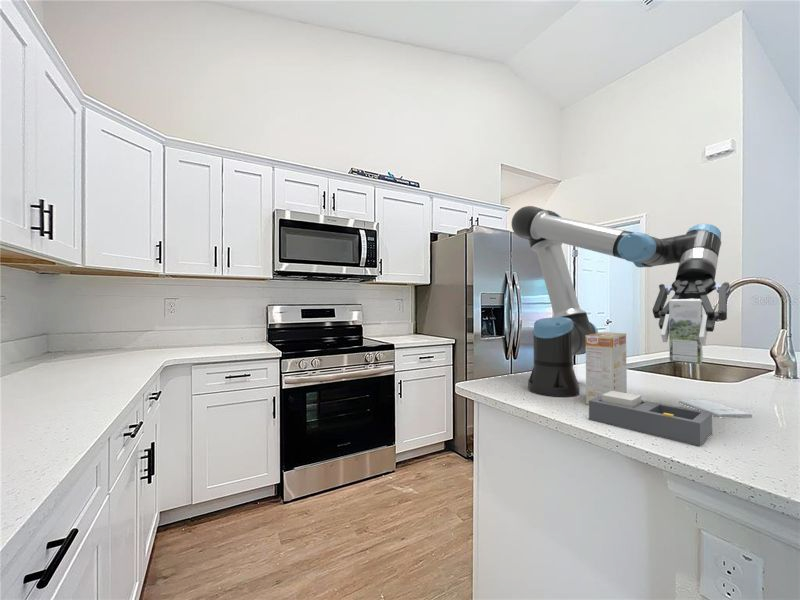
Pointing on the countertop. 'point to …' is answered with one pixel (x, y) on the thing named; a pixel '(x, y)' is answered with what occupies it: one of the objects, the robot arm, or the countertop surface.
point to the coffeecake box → (605, 364)
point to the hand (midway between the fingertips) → (682, 339)
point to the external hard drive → (715, 408)
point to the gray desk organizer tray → (651, 417)
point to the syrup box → (685, 330)
